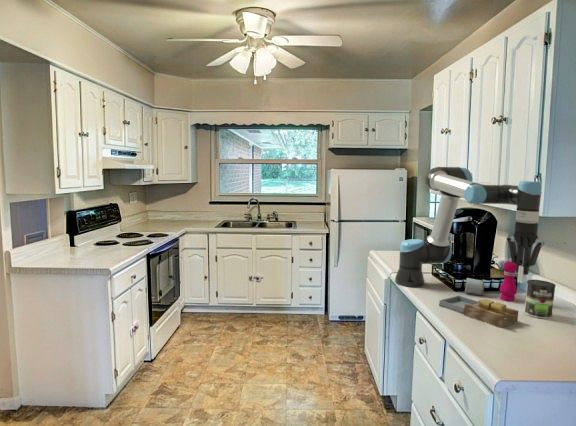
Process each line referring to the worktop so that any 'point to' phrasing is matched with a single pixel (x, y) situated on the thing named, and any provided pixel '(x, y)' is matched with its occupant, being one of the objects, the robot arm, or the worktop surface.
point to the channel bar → (491, 315)
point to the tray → (457, 303)
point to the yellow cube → (498, 308)
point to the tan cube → (485, 304)
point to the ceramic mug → (474, 286)
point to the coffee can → (539, 299)
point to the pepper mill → (508, 282)
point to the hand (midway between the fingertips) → (521, 282)
